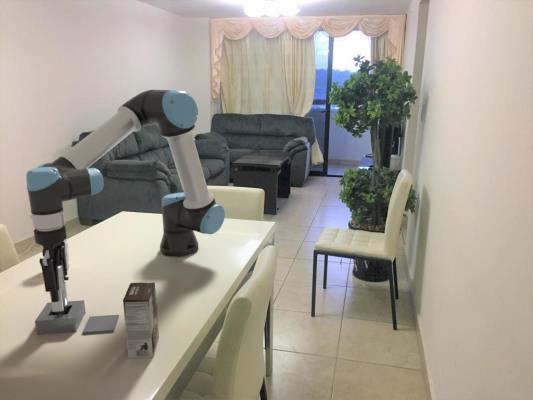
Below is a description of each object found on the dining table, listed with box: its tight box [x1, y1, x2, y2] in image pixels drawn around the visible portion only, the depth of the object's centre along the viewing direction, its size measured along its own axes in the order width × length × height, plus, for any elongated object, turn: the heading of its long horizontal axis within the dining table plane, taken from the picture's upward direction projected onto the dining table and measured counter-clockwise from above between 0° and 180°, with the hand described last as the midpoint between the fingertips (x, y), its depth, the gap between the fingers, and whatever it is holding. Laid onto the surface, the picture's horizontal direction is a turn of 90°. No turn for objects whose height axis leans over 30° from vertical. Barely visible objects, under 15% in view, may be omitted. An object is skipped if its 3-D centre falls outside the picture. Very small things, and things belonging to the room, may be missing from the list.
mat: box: [82, 314, 120, 335], centre depth 120 cm, size 8×8×1 cm
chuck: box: [34, 299, 86, 335], centre depth 121 cm, size 10×10×4 cm
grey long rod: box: [54, 264, 68, 315], centre depth 119 cm, size 3×3×17 cm
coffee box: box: [122, 281, 160, 359], centre depth 108 cm, size 9×6×16 cm
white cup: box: [64, 239, 70, 271], centre depth 154 cm, size 8×8×10 cm
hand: (60, 306), depth 120 cm, fingers closed on grey long rod, 3 cm apart
